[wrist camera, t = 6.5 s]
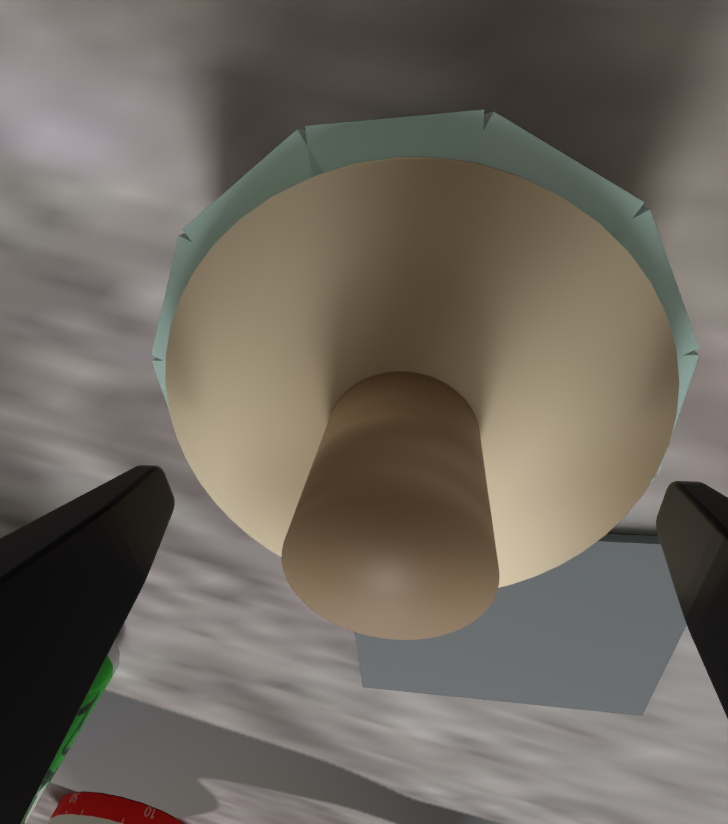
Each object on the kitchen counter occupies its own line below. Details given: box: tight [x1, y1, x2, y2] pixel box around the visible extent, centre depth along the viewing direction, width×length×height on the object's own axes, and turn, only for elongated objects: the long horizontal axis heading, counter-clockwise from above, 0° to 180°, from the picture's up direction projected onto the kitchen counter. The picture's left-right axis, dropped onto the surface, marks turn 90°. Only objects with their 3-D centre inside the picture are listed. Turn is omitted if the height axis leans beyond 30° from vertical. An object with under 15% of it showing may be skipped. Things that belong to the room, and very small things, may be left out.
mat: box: [355, 534, 687, 716], centre depth 21 cm, size 14×12×1 cm
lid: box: [165, 157, 679, 640], centre depth 8 cm, size 10×10×4 cm
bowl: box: [152, 110, 699, 483], centre depth 12 cm, size 11×11×4 cm
